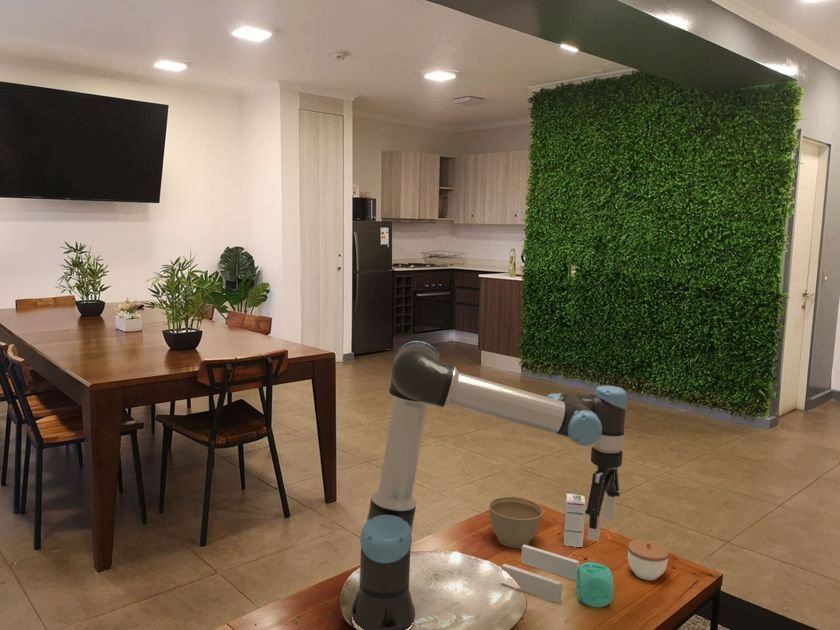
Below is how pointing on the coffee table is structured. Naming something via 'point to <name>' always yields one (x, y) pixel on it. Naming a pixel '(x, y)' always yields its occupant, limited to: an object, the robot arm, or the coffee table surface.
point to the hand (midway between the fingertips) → (601, 529)
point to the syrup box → (574, 520)
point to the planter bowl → (515, 520)
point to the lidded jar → (647, 559)
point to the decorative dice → (594, 584)
